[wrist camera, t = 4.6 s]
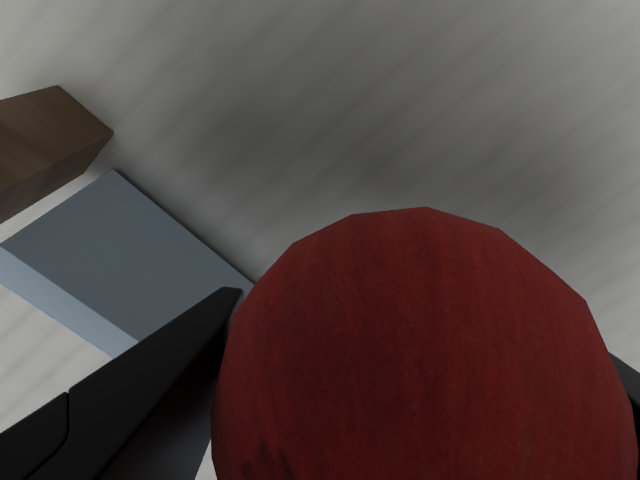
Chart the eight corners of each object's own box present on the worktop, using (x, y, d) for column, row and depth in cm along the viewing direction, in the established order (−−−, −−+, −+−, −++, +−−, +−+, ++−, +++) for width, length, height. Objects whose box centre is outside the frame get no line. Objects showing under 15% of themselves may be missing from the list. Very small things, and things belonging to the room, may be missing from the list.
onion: (344, 386, 12) (323, 930, 5) (217, 229, 10) (-143, 787, 3) (554, 307, 10) (1009, 995, 3) (454, 91, 8) (1189, 721, 1)
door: (414, 416, 22) (434, 556, 16) (396, 425, 22) (409, 565, 17) (112, 168, 16) (-14, 252, 11) (97, 188, 17) (-31, 278, 11)
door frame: (461, 428, 23) (500, 584, 16) (418, 449, 24) (439, 603, 18) (57, 85, 15) (-142, 137, 9) (23, 139, 16) (-175, 218, 10)
